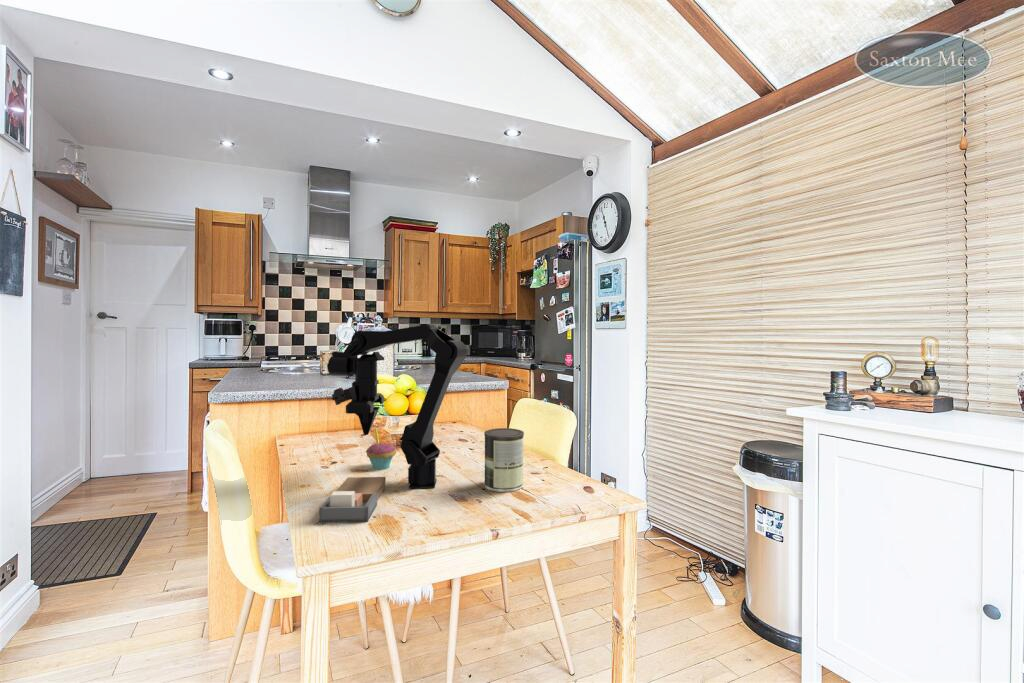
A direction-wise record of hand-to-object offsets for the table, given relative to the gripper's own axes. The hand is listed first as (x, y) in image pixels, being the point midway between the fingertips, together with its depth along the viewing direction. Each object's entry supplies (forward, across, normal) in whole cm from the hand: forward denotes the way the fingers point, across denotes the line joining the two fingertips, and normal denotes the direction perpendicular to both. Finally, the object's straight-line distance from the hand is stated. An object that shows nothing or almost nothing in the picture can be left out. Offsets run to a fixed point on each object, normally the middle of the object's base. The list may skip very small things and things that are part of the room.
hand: (366, 434), depth 131 cm
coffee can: (+12, +8, +37) cm, 40 cm away
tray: (+12, +25, +2) cm, 28 cm away
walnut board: (+12, +14, +2) cm, 18 cm away
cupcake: (+12, -11, +2) cm, 17 cm away
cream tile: (+9, +26, +1) cm, 27 cm away
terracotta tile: (+11, +23, +2) cm, 26 cm away
